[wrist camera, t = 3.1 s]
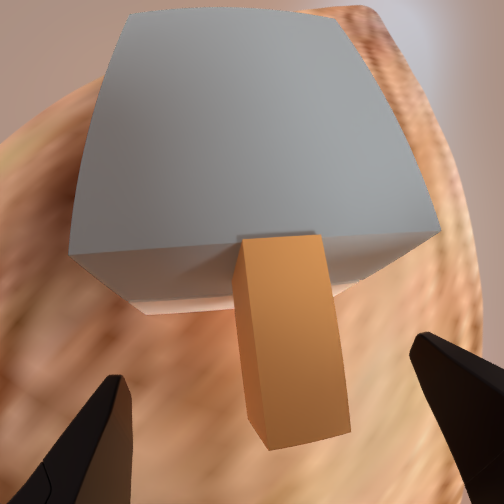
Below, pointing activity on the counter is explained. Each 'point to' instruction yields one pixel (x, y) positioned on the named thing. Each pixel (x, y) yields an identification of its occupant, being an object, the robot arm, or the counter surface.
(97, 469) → the robot arm
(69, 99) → the counter surface
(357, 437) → the counter surface
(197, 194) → the grey boxy piece
